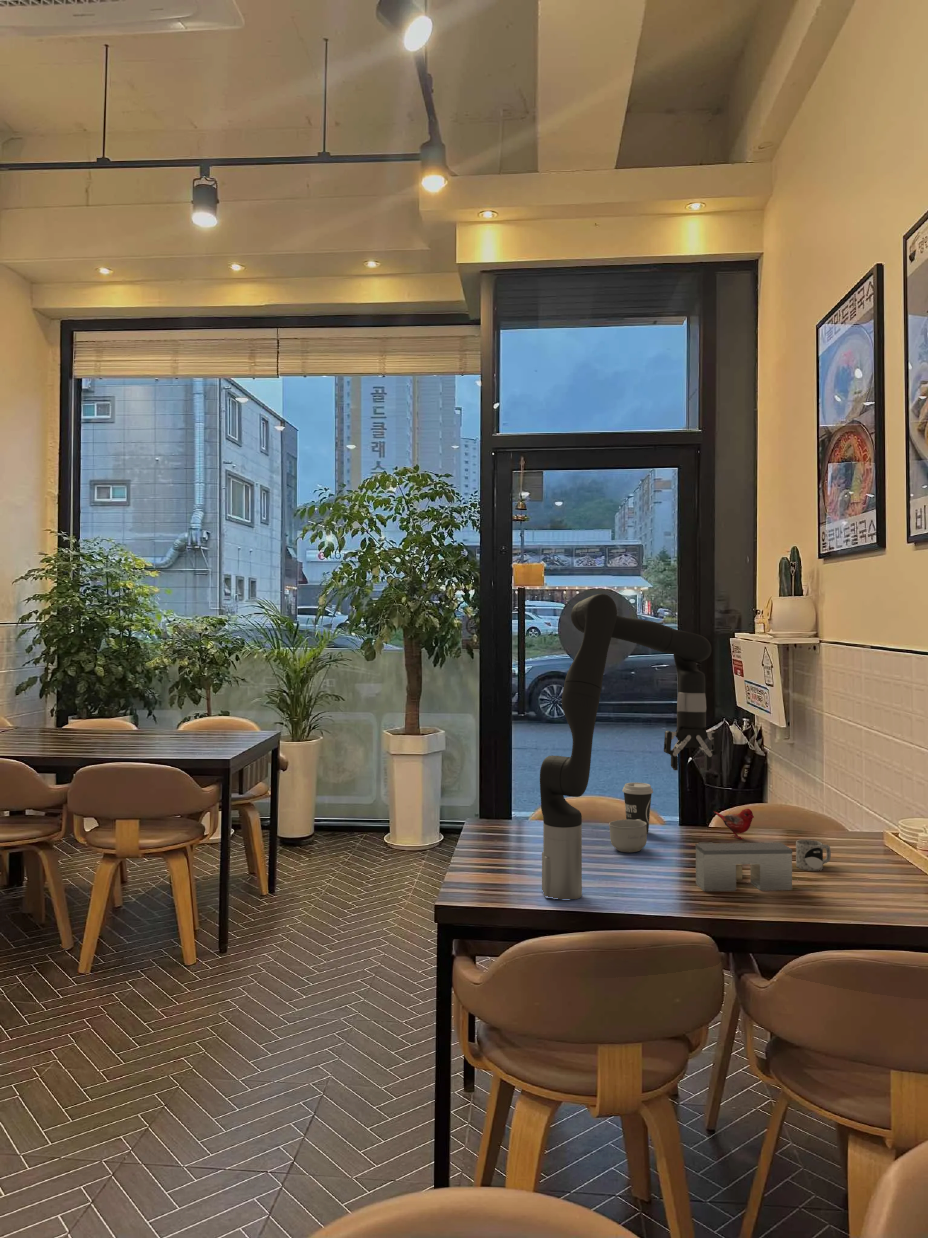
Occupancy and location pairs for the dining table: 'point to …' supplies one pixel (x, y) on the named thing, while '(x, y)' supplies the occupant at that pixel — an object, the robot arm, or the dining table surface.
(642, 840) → the teacup
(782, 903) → the dining table surface
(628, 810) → the coffee cup
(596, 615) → the robot arm
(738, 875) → the bar
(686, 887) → the dining table surface
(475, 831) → the dining table surface
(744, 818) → the decorative bird figurine
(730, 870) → the block
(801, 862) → the mug
